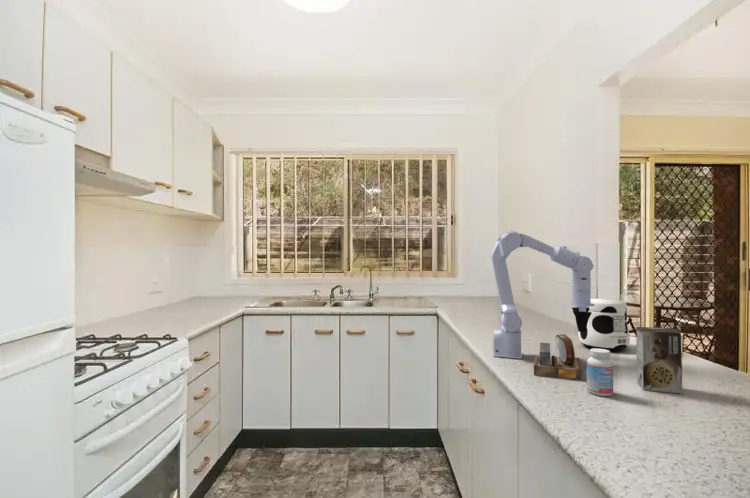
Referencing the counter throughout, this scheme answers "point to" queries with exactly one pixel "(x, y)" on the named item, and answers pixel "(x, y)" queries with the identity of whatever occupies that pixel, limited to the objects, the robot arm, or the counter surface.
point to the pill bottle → (600, 373)
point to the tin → (565, 349)
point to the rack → (554, 365)
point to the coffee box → (659, 359)
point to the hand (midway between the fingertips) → (581, 329)
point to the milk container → (606, 325)
